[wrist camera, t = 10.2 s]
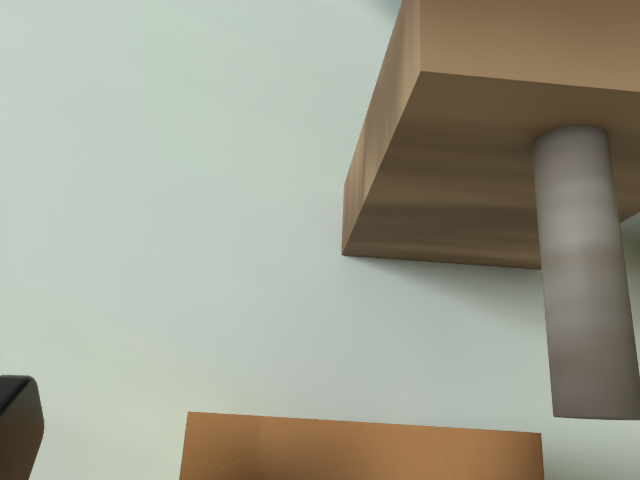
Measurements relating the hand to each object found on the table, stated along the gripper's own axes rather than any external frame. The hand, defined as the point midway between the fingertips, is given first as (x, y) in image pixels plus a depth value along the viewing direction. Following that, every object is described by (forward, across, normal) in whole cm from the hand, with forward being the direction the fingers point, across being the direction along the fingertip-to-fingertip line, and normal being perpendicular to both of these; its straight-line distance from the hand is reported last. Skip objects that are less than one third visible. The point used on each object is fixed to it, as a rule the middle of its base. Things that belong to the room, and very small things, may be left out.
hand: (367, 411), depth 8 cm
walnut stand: (+12, -5, +6) cm, 14 cm away
